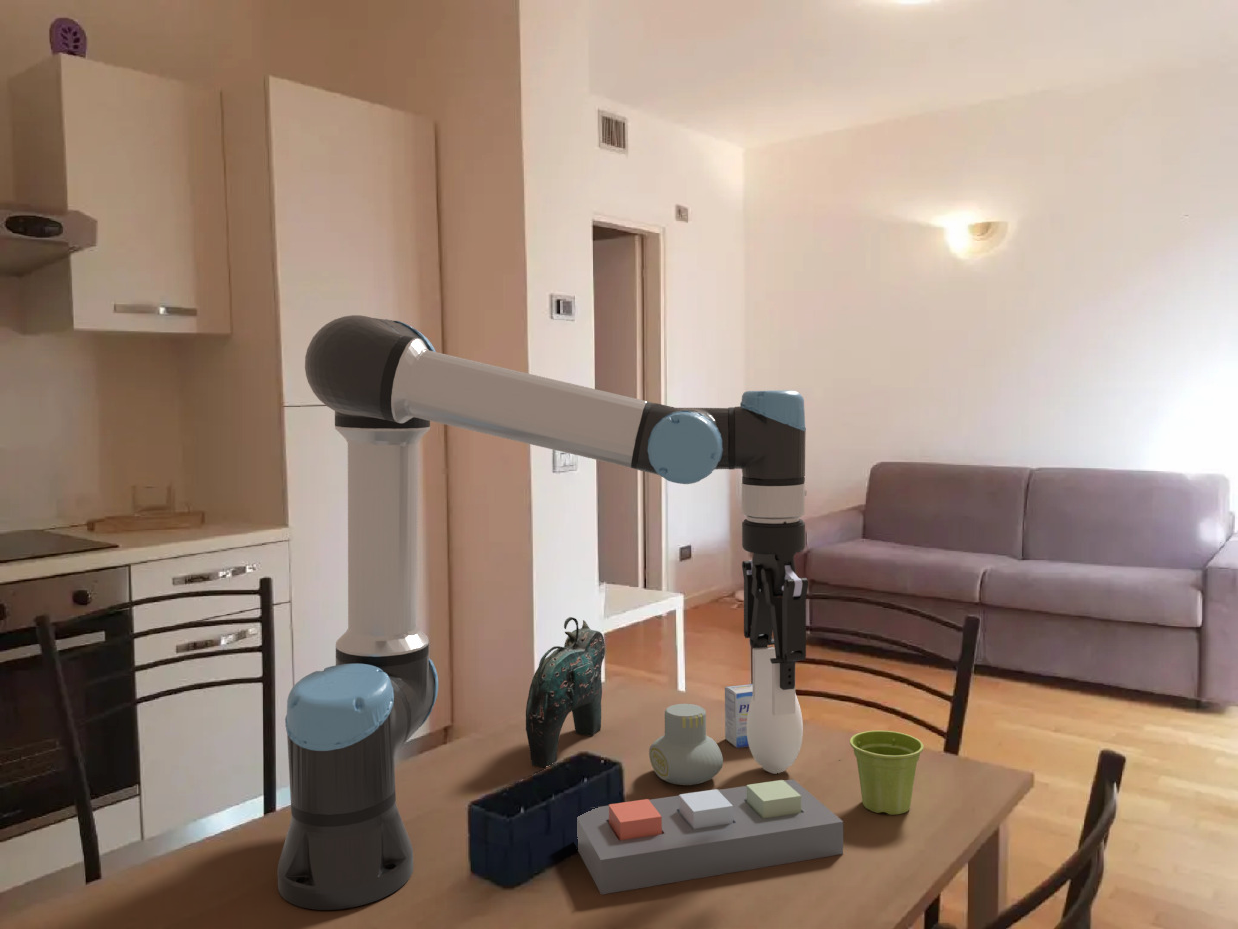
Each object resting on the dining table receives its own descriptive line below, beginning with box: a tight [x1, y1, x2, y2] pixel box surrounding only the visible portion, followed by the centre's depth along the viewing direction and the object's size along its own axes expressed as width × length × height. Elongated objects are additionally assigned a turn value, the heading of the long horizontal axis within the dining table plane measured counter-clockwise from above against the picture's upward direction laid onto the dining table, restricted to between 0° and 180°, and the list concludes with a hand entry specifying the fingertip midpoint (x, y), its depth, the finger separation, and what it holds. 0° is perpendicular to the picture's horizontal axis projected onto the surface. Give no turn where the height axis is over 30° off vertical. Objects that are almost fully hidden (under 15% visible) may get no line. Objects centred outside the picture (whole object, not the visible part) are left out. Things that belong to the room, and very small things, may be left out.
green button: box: [746, 779, 801, 819], centre depth 120 cm, size 5×5×3 cm
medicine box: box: [724, 683, 753, 749], centre depth 153 cm, size 8×4×9 cm, turn 106°
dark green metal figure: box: [525, 616, 606, 768], centre depth 151 cm, size 20×6×20 cm, turn 154°
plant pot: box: [849, 730, 925, 815], centre depth 129 cm, size 9×9×9 cm
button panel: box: [577, 779, 844, 895], centre depth 118 cm, size 30×13×4 cm, turn 106°
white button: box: [678, 788, 733, 829], centre depth 118 cm, size 5×5×3 cm
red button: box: [608, 798, 662, 841], centre depth 115 cm, size 5×5×3 cm
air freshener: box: [648, 703, 724, 786], centre depth 139 cm, size 11×8×10 cm
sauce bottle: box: [747, 655, 804, 775], centre depth 140 cm, size 8×8×18 cm
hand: (773, 705), depth 119 cm, fingers open, 5 cm apart
